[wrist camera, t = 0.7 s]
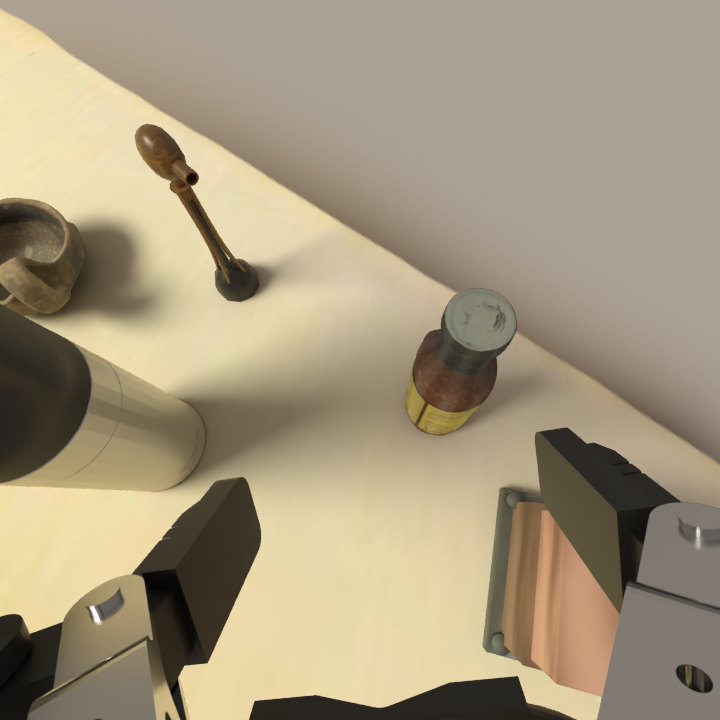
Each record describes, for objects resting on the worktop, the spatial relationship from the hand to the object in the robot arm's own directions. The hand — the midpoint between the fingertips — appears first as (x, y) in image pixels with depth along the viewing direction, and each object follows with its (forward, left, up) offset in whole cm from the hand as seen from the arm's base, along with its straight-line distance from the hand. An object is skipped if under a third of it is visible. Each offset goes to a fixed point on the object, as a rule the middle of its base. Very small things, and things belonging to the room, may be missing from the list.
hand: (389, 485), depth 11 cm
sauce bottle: (+4, +10, -28) cm, 30 cm away
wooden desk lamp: (-20, +19, -28) cm, 40 cm away
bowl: (-42, +14, -28) cm, 53 cm away
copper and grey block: (+18, -3, -28) cm, 33 cm away
